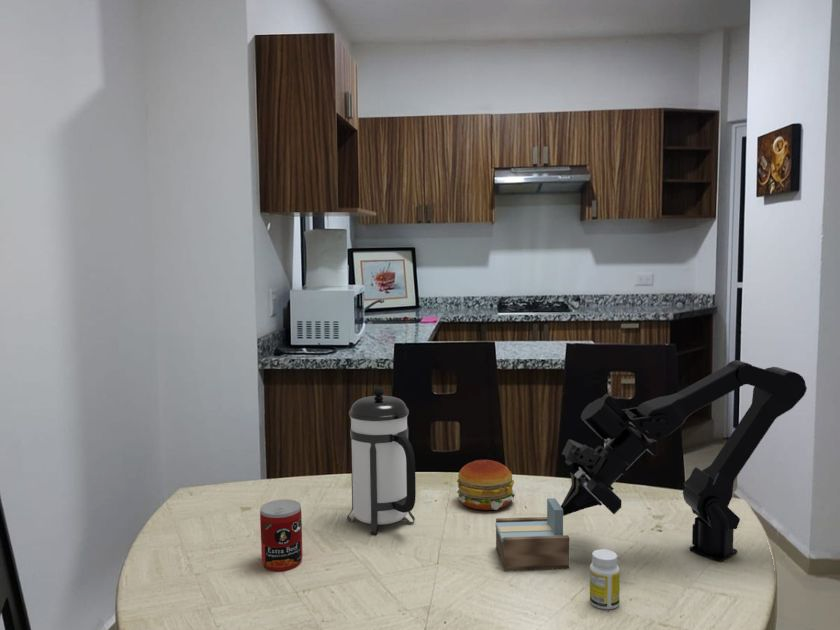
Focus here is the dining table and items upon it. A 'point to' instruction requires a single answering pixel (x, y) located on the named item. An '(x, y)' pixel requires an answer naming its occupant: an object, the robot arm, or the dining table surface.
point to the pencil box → (532, 550)
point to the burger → (485, 485)
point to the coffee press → (381, 461)
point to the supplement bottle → (604, 579)
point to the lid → (535, 524)
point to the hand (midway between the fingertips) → (560, 513)
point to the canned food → (281, 534)
